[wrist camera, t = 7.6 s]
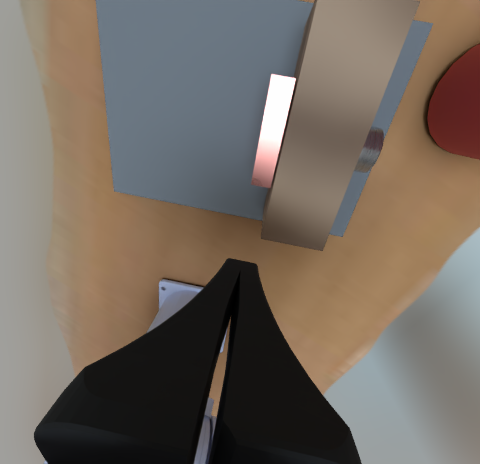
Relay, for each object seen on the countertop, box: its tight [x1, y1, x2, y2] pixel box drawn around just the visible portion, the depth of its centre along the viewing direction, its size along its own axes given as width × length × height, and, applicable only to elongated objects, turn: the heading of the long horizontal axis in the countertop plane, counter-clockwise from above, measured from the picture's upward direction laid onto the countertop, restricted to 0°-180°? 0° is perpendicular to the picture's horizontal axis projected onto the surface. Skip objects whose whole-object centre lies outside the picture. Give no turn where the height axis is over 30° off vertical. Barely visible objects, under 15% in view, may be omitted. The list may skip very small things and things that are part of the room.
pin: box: [251, 74, 384, 188], centre depth 15 cm, size 7×6×4 cm
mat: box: [96, 0, 433, 237], centre depth 17 cm, size 14×20×1 cm
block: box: [261, 0, 420, 251], centre depth 14 cm, size 12×4×5 cm, turn 171°
